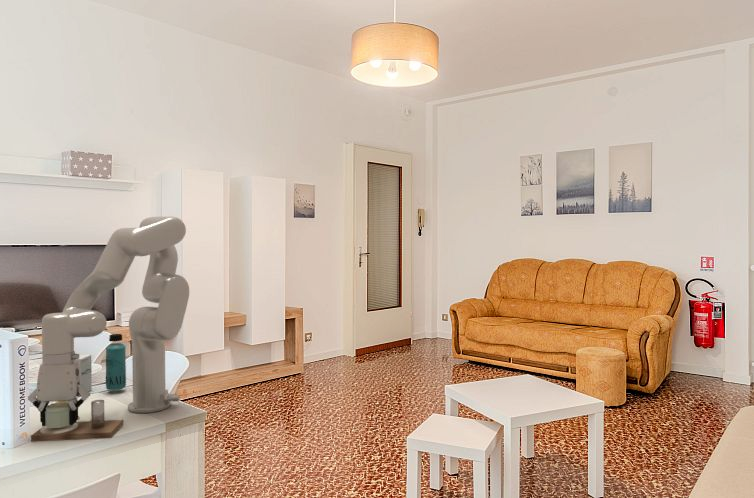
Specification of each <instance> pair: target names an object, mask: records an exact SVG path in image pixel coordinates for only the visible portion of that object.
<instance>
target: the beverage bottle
mask: <svg viewBox="0 0 754 498" xmlns="http://www.w3.org/2000/svg"><path fill="white" fill-rule="evenodd" d="M108 340H109V342H115V343H110V344H108V345H107V346H106V347H105V388H106V390H109V391H116V390H121V389H125V388H126V387H127V386H126V385H127V365H126V362H127V361H126V360H127V359H126V358H127V357H126V356H127V355H126V347H127V346H126V345H124V343H121V342H120V341H123V335H122V333H112V334H110V335H109V338H108Z"/></svg>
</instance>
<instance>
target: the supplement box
mask: <svg viewBox="0 0 754 498" xmlns="http://www.w3.org/2000/svg"><path fill="white" fill-rule="evenodd" d="M74 361H76V362H78V365H79V370H80V376H81V385H82V387H83V388H84V389H85V390H86V391H87V392H89V393H90V391H92V389H93V388H92V387H93V386H92V385H93V384H92V382H93V381H92V368H93V367H92V354H79V359H75V360H74ZM78 397H82V395H79V396H78Z"/></svg>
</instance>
